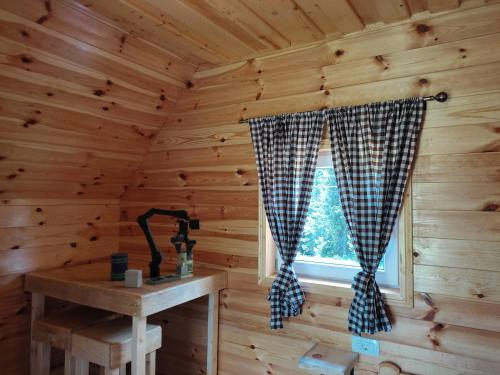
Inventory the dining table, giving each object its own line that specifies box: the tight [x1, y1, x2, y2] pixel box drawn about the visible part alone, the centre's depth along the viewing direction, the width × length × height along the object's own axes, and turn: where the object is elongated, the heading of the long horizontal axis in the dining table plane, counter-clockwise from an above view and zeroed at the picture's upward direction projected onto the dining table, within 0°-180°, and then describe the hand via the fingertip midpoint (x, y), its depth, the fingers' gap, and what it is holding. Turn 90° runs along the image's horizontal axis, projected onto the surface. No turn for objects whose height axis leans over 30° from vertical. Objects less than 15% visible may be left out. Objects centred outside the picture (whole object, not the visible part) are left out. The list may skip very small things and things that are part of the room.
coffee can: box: [176, 248, 194, 273], centre depth 242 cm, size 10×10×14 cm
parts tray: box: [171, 272, 194, 280], centre depth 225 cm, size 9×9×2 cm
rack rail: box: [145, 273, 182, 286], centre depth 212 cm, size 9×18×2 cm, turn 139°
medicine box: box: [124, 269, 143, 288], centre depth 200 cm, size 8×4×9 cm, turn 75°
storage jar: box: [110, 252, 129, 282], centre depth 216 cm, size 10×10×15 cm
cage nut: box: [175, 263, 188, 276], centre depth 225 cm, size 5×5×8 cm
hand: (183, 255), depth 226 cm, fingers open, 9 cm apart
